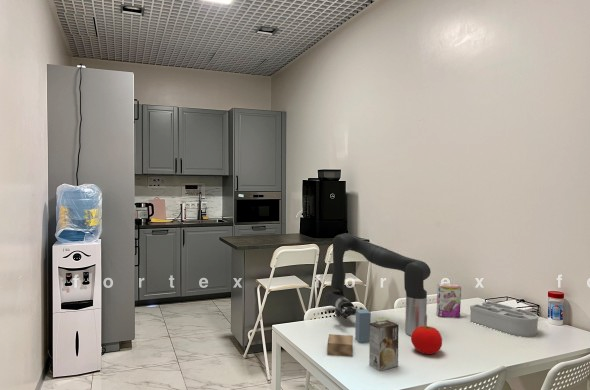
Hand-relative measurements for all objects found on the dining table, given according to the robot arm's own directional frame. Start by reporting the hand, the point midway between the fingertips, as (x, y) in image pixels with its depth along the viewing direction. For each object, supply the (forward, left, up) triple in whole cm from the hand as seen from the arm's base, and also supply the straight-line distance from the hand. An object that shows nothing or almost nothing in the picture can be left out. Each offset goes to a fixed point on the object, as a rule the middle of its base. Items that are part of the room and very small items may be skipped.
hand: (355, 316), depth 195 cm
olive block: (-12, +20, -7) cm, 24 cm away
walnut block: (+5, +23, -7) cm, 25 cm away
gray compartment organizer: (-72, -21, -8) cm, 76 cm away
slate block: (-4, +10, -7) cm, 13 cm away
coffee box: (-12, +34, -7) cm, 37 cm away
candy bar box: (-48, -34, -7) cm, 59 cm away
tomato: (-30, +17, -7) cm, 35 cm away
